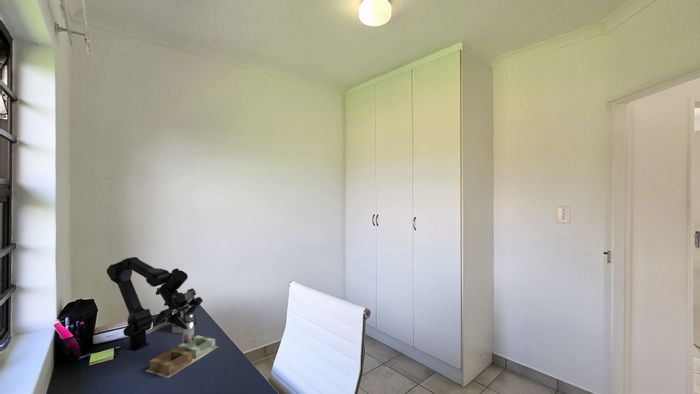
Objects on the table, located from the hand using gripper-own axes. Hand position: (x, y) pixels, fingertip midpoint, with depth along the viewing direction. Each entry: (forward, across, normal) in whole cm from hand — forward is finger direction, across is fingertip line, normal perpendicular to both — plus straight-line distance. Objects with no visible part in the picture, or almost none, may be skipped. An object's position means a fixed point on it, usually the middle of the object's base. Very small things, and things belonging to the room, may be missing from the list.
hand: (191, 326), depth 121 cm
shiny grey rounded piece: (+3, 0, +5) cm, 6 cm away
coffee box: (-9, +20, +29) cm, 36 cm away
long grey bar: (-18, +20, +38) cm, 47 cm away
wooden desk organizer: (+8, -1, +11) cm, 14 cm away
